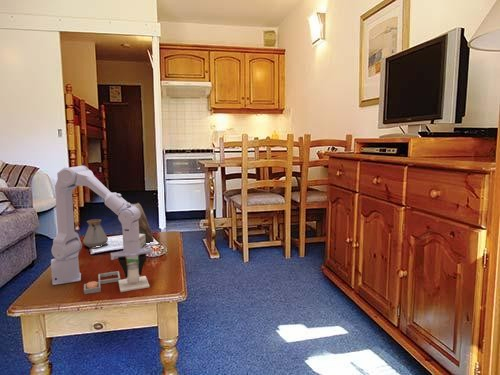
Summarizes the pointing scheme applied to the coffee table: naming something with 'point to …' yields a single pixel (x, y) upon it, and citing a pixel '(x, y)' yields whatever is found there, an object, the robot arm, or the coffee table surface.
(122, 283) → the mat
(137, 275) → the cartridge
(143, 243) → the ink box
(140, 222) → the brown tapered rock
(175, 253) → the coffee table surface
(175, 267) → the coffee table surface
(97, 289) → the dock
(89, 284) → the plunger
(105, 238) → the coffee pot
